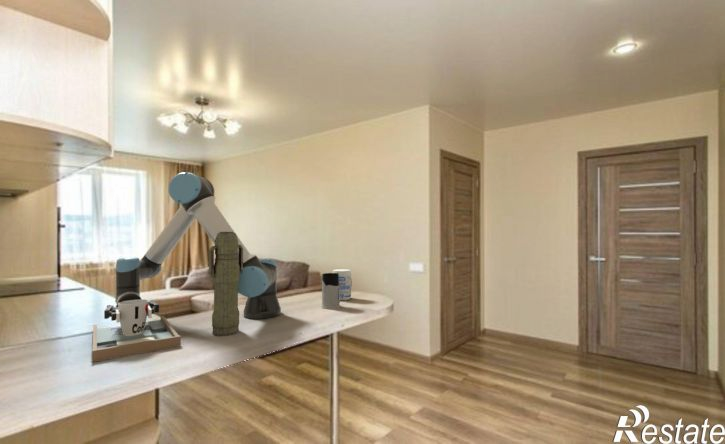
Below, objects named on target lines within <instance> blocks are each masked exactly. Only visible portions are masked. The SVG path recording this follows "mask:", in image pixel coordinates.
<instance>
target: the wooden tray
mask: <svg viewBox="0 0 725 444" xmlns="http://www.w3.org/2000/svg"><path fill="white" fill-rule="evenodd" d="M92 326H93V327H92V349H91V350H92V351H91V352H92V354H91V357H92V358H91V359H92V361H91V362H92V363H95V362H101V361H104V360H111V359H116V358H122V357H128V356H132V355H133V356H134V355H140V354H144V353H150V352H154V351H160V350H167V349H172V348H179V347H181V345H182V341H181V340H182V339H181V338H182V336H181V335H179V333H177V331H176V330H175V328H174V327H173V326H172V324H171V323H170V322H169V321H168V319H167V318H166V317H165V316H164V315H160V319H159V320H153V321H148V326H149V328H150V329H146V330H145V329H144V330H143V333H142V334H139V335H134V336H124V334H123V333H119V334H112V330H111V329H112V328H111V326H109V327H108V326H107V327H103V328H97V326H98V325H97V324H94V325H92Z"/></svg>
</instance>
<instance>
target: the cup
mask: <svg viewBox="0 0 725 444" xmlns="http://www.w3.org/2000/svg"><path fill="white" fill-rule="evenodd" d="M148 302H149V300H148V299H142V298H141V299H140V300H129V301H123V302H120V303H118V311H119V312H120V322H119V324H120V328H121V331H122V334H124V336H134V335H139V334H142V333H143V331H144V330H145V327H146V324H147V318H148V316H147V312H148Z"/></svg>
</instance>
